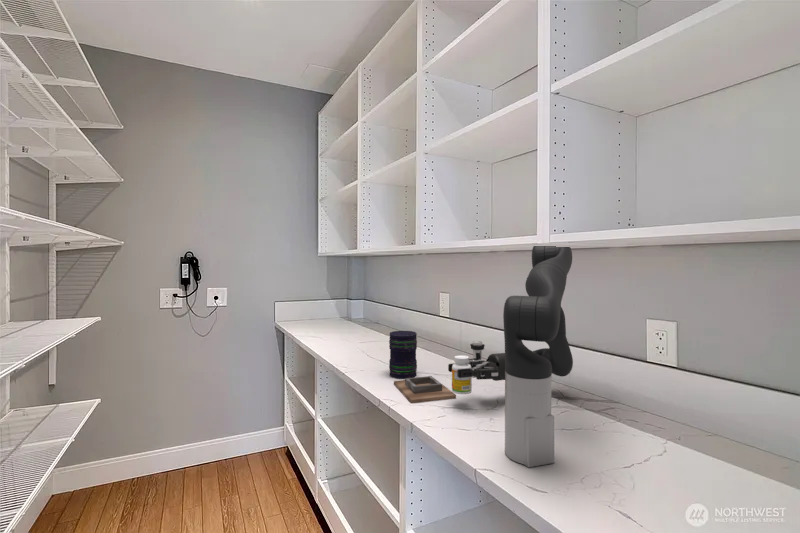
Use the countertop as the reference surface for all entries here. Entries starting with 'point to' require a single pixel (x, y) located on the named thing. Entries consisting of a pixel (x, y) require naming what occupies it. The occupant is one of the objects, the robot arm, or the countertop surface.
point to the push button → (477, 349)
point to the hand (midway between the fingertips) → (453, 370)
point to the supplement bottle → (461, 383)
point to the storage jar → (403, 354)
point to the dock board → (423, 389)
